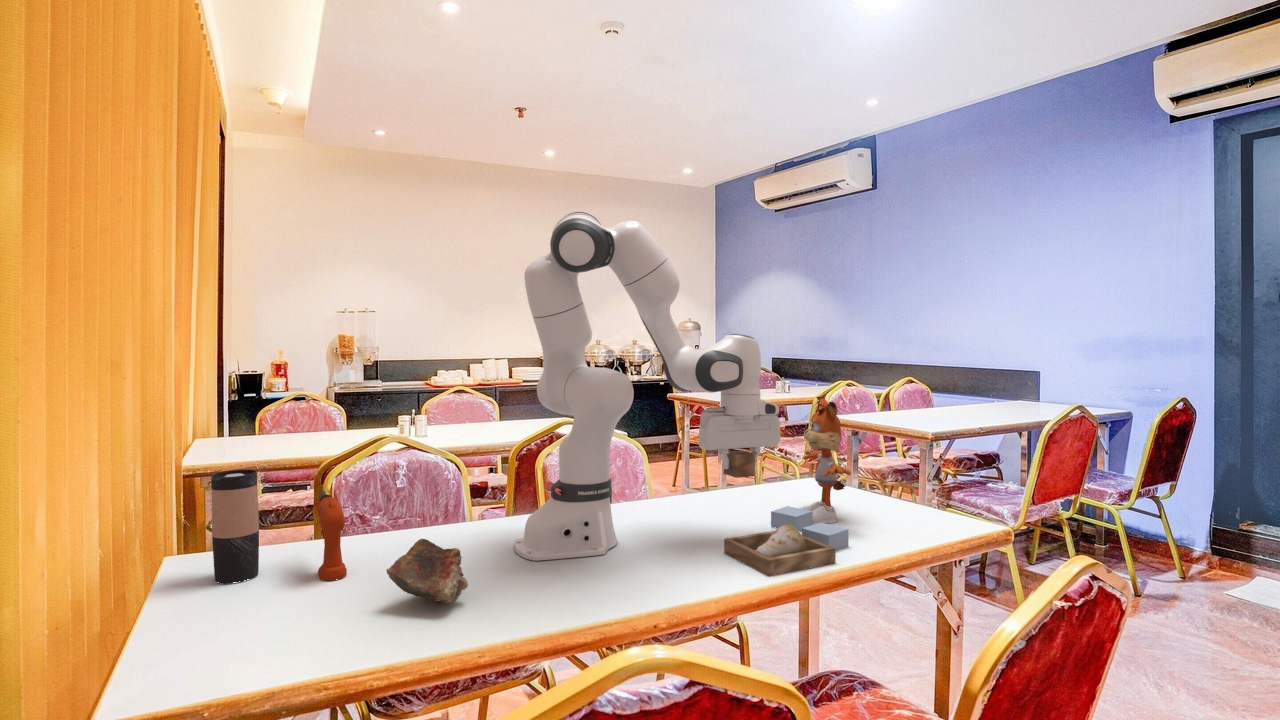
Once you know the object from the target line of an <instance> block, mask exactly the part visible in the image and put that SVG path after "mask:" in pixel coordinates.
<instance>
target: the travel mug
mask: <svg viewBox="0 0 1280 720" xmlns="http://www.w3.org/2000/svg"><path fill="white" fill-rule="evenodd" d="M210 478H211V479H210V480H211V481H210V482H211V483H210V485H211V487H210V488H211V494H210V495H211V539H212V540H211V541H212V556H213V571H214V573H213V574H214V582H215V581H216V582H219V583H233V582H239V581H244V580H247V579H251V578H253V579H255V578H256V577H258V575H259V569H260V568H259V566H260V565H259V561H260V560H259V558H260V557H259V556H260V555H259V553H260V551H259V550H260V549H259V548H260V547H259V545H260V522H259V521H260V520H259V518H260V517H259V492H258V491H259V490H258V489H259V488H258V471H257V470H255V469H247V468H245V469H233V470H232V469H230V470H224V471H220V472H219V471H218V472H215V473H213V474H212V475H211V476H210ZM255 576H256V577H255ZM254 577H255V578H254ZM251 580H252V579H251ZM216 582H215V583H216ZM219 583H218V584H219Z"/></svg>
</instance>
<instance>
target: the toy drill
mask: <svg viewBox="0 0 1280 720" xmlns="http://www.w3.org/2000/svg"><path fill="white" fill-rule="evenodd" d="M320 494H321V497H319V498H320V499H319V503H318V505H317V512H318V517H319V523H320V528H321V529H322V531H323V542H324V544H323V545H324V549H323V561H322V564H321V565H320V566H319V567H318V570H317V575H318V577H319V579H320V578H321V579H320V580H322V579H323V580H322V581H324V580H335V581H337V580H336V579H339V580H341V579H340V578H342V579H344V578H346V577H347V574H348V573H347V572H348V569H347V567H346V565H345V563H344V562H343V555H342V548H341V539H342V538H341V536H342V531H343V529H345V527H346V526H345V525H346V521H345V515H344V511H343V508H342V505H341V503H340V501H339V500H338V499H336V498H335V497H333V496H332V495H330V494H327V492H326V490H323V489H322V490H321V491H320ZM343 577H344V578H343Z"/></svg>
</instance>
